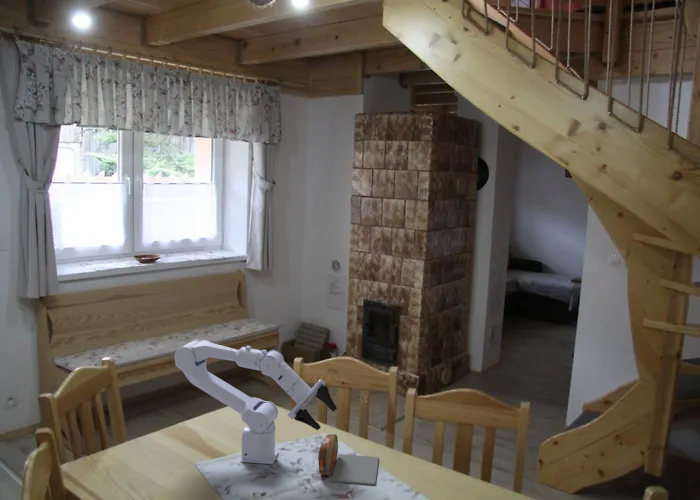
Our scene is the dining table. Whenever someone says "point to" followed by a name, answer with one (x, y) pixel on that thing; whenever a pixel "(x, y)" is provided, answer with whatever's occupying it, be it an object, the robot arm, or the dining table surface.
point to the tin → (328, 454)
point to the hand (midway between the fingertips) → (327, 419)
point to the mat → (355, 469)
